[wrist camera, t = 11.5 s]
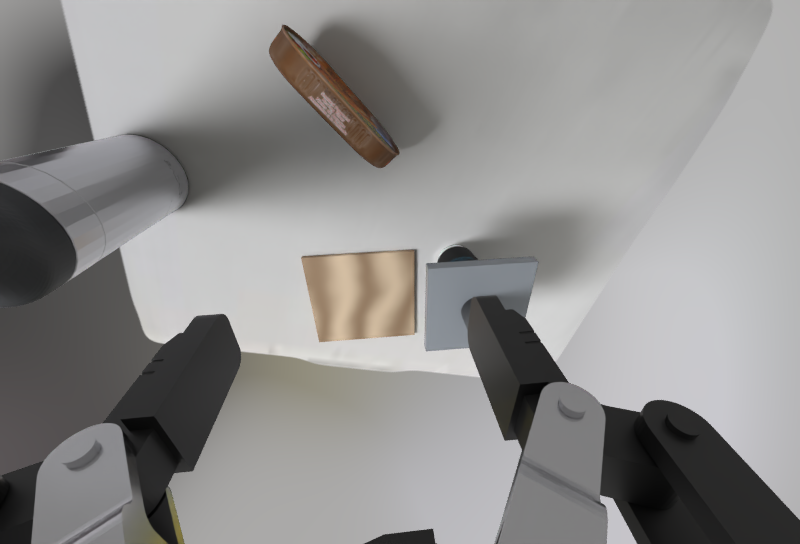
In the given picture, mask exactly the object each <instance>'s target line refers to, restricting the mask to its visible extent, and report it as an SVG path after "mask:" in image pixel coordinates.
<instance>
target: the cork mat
mask: <svg viewBox="0 0 800 544" xmlns="http://www.w3.org/2000/svg"><path fill="white" fill-rule="evenodd" d="M301 259H302V263H303V268H304V273H305V277H306V282H307V287H308V291H309V296H310V301H311V305H312V310H313V315H314V319H315V324H316V329H317V333H318V338H319V342H327V341H340V340H353V339H365V338H378V337H391V336H404V335H414V250H401V251H384V252H368V253H351V254H335V255H319V256H302V258H301Z"/></svg>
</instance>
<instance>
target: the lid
mask: <svg viewBox="0 0 800 544" xmlns="http://www.w3.org/2000/svg"><path fill="white" fill-rule="evenodd" d="M537 266H538V261H537V260H536V259H535V258H534V257H519V258H504V259H488V260H473V261H457V262H441V263H426V298H425V342H424V345H425V349H426V351H436V350H448V349H461V348H469V344H468V324H469V316H470V307H471V300H472V298H473V297H478V296H492V295H496V296H497V297H498V298H499V300H500V302H501V303H502V305H503V307H504V308H505V310H509V309H513V310H515V311H516V312H518V313H519V314H520V315H521V316H523V317H524V318H525V317H526V313H527V308H528V304H529V300H530V296H531V291H532V287H533V283H534V279H535V275H536V270H537Z"/></svg>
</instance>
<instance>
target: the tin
mask: <svg viewBox="0 0 800 544" xmlns="http://www.w3.org/2000/svg"><path fill="white" fill-rule="evenodd" d="M269 54H270V56H271V59H272V60H273V62H274V64H275V65H276V67H277V68H278V70H279V71H280V72H281V73H282V75H283V76H284V77H285V78H286V79H287V81H288V82H289V83H290V84H291V85H292V86H293V87H294V88H295V89H296V91H297V92H298V93H299V94H300V95H301V96H302V97H303V98H304V99H305V100H306V101H307V102H308V103H309V104H310V105H311V106H312V107H313V108H314V109H315V110H316V111H317V112H318V113H319V114H320V115H321V117H322V118H323V119H324V120H325V121H326V122H327V123H328V124H329V125H330V126H331V127H332V128H333V129H334V130H335V131H336V132H337V133H338V134H339V135H340V136H341V137H342V138H343V139H344V140H345V141H346V142H347V143H348V144H349V145H350V146H351V147H352V148H353V149H354V150H355V151H356V152H357V153H358V154H359V155H360V156H362V157H363V158H364V159H365V160H366V161H367V162H369V163H370V164H372V165H373V166H375V167H378V168H383V167H385V166H386V165H387V164H388V163H389V162H390V161H391V160H392V159H393V158H394V157H395V156H397V155H399V150H398V148H397V146H396V145H395V143H394V141H393V140H392V138H391V137H390V135H389V134H388V133H387V131H386V130H385V129H384V128H383V126H382V125H381V124H380V123H379V122H378V120H377V119H376V118H375V117H374V116H373V115H372V114H371V112H370V111H369V110H368V109H367V108H366V107H365V106H364V105H363V103H362V102H361V101H360V100H359V99H358V98H357V97H356V95H355V94H354V93H353V92H352V91H351V90H350V89H349V87H348V86H347V85H346V84H345V83H344V82H343V81H342V80H341V78H340V77H339V76H338V75H337V74H336V73H335V72H334V70H333V69H332V68H331V67H330V66H329V65H328V64H327V63H326V61H325V60H324V59H323V58H322V57H321V56H320V55H319V54H318V53H317V52H316V51H315V50H314V49H313V48H312V47H311V46H310V45H309V44H308V43H307V42H306V41H305V40H304V39H303V38H302V37H301V36H300V35H298V34H297V33H296V32H295V31H294V30H292V29H291V28H289V27H288V26H286V25H282V29H281V31H280V32H279V34H278V35H277V36H276V38H275V39H274V41H273V42H272V44H271V46H270V48H269Z"/></svg>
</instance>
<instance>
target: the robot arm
mask: <svg viewBox="0 0 800 544" xmlns="http://www.w3.org/2000/svg"><path fill="white" fill-rule="evenodd" d="M187 194H188V181H187V177H186V174H185V172H184V170H183V168H182V166H181V165H180V163H179V162H178V160H177V159H176V158H175V157H174V156H173V155H172V154H171V153H170V152H169V151H168V150H167V149H165V148H164V147H163V146H161V145H160V144H158V143H156V142H154V141H153V140H151V139H148V138H145V137H142V136H137V135H120V136H115V137H110V138H106V139H101V140H96V141H92V142H86V143H82V144H77V145H72V146H68V147H63V148H58V149H54V150H49V151H44V152H39V153H35V154H30V155H25V156H21V157H16V158H11V159H7V160H2V161H0V308H4V307H16V306H21V305H25V304H29V303H32V302H34V301H37V300H39V299H41V298H43V297H44V296H46V295H48V294H49V293H51V292H52V291H54V290H56V289H57V288H58V287H60V286H61V285H63V284H64V283H66V282H68V281H69V280H70V279H72V278H74V277H75V276H77V275H78V274H79V273H81V272H83V271H84V270H86V269H87V268H89V267H90V266H92V265H93V264H94V263H96V262H97V261H99V260H100V259H102V258H103V257H105V256H106V255H108V254H110V253H111V252H113V251H114V250H116V249H117V248H119V247H120V246H122V245H123V244H125V243H126V242H128V241H129V240H131V239H132V238H134V237H135V236H137V235H138V234H140V233H141V232H143V231H144V230H146V229H147V228H149V227H151V226H152V225H154V224H155V223H157V222H158V221H160V220H161V219H163V218H164V217H166V216H167V215H169V214H170V213H172V212H173V211H175V210H177V209H178V208H179V207H180V206H181V205H182V204H183V203H184V202H185V200H186V198H187ZM540 341H541V340H540V339H539V338H538V336H537V335H536V333H534V330H533V329H532V327H531V326H530V324H529V323H528V321H527V320H526V318H524V317H523V316H521V315H520V314H519V313H518V312H516V311H515V310H513V309H509V310H505V308H504V307H503V305H502V303H501V302H500V300H499V298H498V297H497V296H496V295H492V296H478V297H473V298H472V300H471V307H470V316H469V324H468V344H469V348H470V351H471V354H472V356H473V359H474V362H475V364H476V367H477V369H478V372H479V375H480V377H481V380H482V382H483V385H484V388H485V390H486V393H487V395H488V398H489V401H490V403H491V406H492V409H493V411H494V414H495V416H496V419H497V421H498V424H499V427H500V429H501V432H502V435H503V437H504V440H516V439H518V441H519V444H520V446H521V448H522V452H521V456H520V459H519V462H518V466H517V469H516V473H515V476H514V480H513V483H512V487H511V490H510V493H509V497H508V500H507V504H506V507H505V510H504V514H503V517H502V521H501V524H500V527H499V530H498V533H497V537H496V540H495V544H606V543H607V523H608V520H607V510H606V507H605V505H604V504H602V503H601V502H600V495H602V496H606V497H610V498H613V499H614V501H615V503H616V505H617V507H618V509H619V510H620V512H621V514H622V516H623V518H624V520H625V521H626V523H627V525H628V527H629V529H630V531H631V533H632V535H633V537H634V538H635V540H636V542H637V544H800V520H799V519H798V518H797V517H796V516H795V515H794V514H793V513H792V511H790V509H789V508H788V507H787V506H786V505H785V504H784V503H783V502H782V501H781V500H780V499H779V498H778V497H777V495H776V494H775V493H774V492H773V491H772V490H771V489H770V488H769V487H768V486H767V485H766V484H765V483H764V482H763V480H762V479H761V478H760V477H759V476H758V475H757V474H756V473H755V472H754V471H753V470H752V469H751V468H750V467H749V465H748V464H747V463H746V462H745V461H744V460H743V459H742V458H741V457H740V456H739V455H738V454H737V453H736V452H735V450H734V449H733V448H732V447H731V446H730V445H729V444H728V443H727V442H726V441H725V440H724V439H723V438H722V437H721V436H720V434H719V433H718V432H717V431H716V430H715V429H714V428H713V427H712V426H711V425H710V424H709V423H708V422H707V421H706V420H705V419H703V418H702V417H701V416H699V415H698V414H697V413H695V412H693V411H691V410H690V409H688V408H686V407H684V406H682V405H679V404H677V403H673V402H670V401H664V400H654V401H651V402H648V403H647V404H646V405H645V406H644V408H643V409H642V411H641V412H636V411H630V410H625V409H620V408H615V407H609V406H605V405H602V404H600V403H599V402H598V401H597V399H596V398H595V397H594V396H592V395H591V394H590V393H589V392H587V391H586V390H584V389H582V388H580V387H579V386H576V385H574V384H571V383H569V382H568V381H567V379H566V378H565V376H564V375H563V373H562V372H561V370H560V369H559V367H558V366H557V364H556V363H555V361H554V360H553V358H552V357H551V355H550V354H549V352H548V351H547V349H546V348H545V346H544V345H543V343H541V342H540ZM240 362H241V351H240V348H239V345H238V343H237V340H236V338H235V335H234V333H233V330H232V328H231V325H230V322H229V320H228V318H227V316H226V315H224V314H216V315H202V316H196V317H195V318H194V319H193V320H192V322H191V323H190V324H189V326H188V327H187V328H186V330H185V331H184V333H179V334H177V335H176V336H175V337H174V338H172V339H171V340H170V341H168V342H167V343H166V344H164V345H163V346H162V347H161V349H160V350H159V351H158V353H157V354H156V355H155V356H154V358H153V359H152V362H151V363H149V364H148V365H147V367H146V368H145V369H144V370H143V372H142V375H140V376H139V377H138V378H137V380H136V381H135V382H134V383H133V385H132V386H131V387H130V389H129V390H128V391H127V392H126V394H125V395H124V396H123V398H122V399H121V400H120V402H119V403H118V404H117V406H116V407H115V408H114V409H113V411H112V412H111V413H110V414H109V416H108V417H107V418H106V420H105V421H104V422H103V423H102V424H98V425H94V426H91V427H89V428H86V429H84V430H82V431H80V432H78V433H76V434H74V435H73V436H71V437H70V438H68V439H67V440H65V441H64V442H63V443H61V444H60V445H59V446H58V447H57V448H55V450H53V451H52V452H51V453H50V454H49V456H48V457H47V458H46V459H45V460H44V461H42V462H39V463H36V464H33V465H31V466H28V467H25V468H22V469H19V470H16V471H13V472H10V473H7V474H4V475H2V476H1V475H0V544H185V543H184V539H183V535H182V532H181V527H180V523H179V519H178V515H177V511H176V508H175V504H174V500H173V496H172V492H171V489H170V488H169V487H168V484H169V482H170V480H171V478H172V476H173V474H174V473H179V472H189V471H193V470H194V467H195V465H196V463H197V461H198V459H199V456H200V454H201V452H202V449H203V447H204V445H205V443H206V441H207V438H208V436H209V434H210V432H211V429H212V427H213V425H214V422H215V421H216V418H217V416H218V414H219V411H220V409H221V407H222V405H223V403H224V400H225V398H226V396H227V393H228V391H229V389H230V387H231V385H232V383H233V380H234V378H235V376H236V374H237V371H238V369H239V366H240ZM365 544H436V543H435V539H434V532H433V529H427V530H419V531H410V532H402V533H394V534H385V535H382V536H380V537H378V538H376V539H373V540H371V541H369V542H367V543H365Z"/></svg>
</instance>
